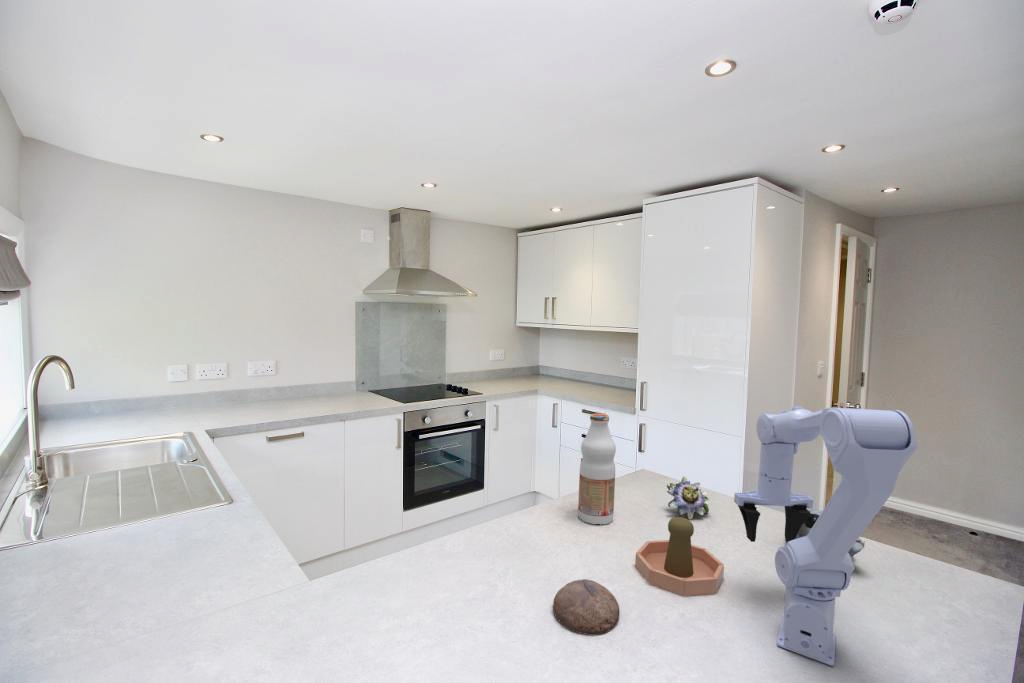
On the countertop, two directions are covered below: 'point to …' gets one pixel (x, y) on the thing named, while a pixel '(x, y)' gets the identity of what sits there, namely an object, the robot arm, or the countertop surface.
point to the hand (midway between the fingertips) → (770, 540)
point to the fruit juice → (597, 473)
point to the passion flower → (688, 498)
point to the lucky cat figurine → (811, 521)
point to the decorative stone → (586, 607)
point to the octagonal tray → (653, 571)
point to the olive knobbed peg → (679, 548)
